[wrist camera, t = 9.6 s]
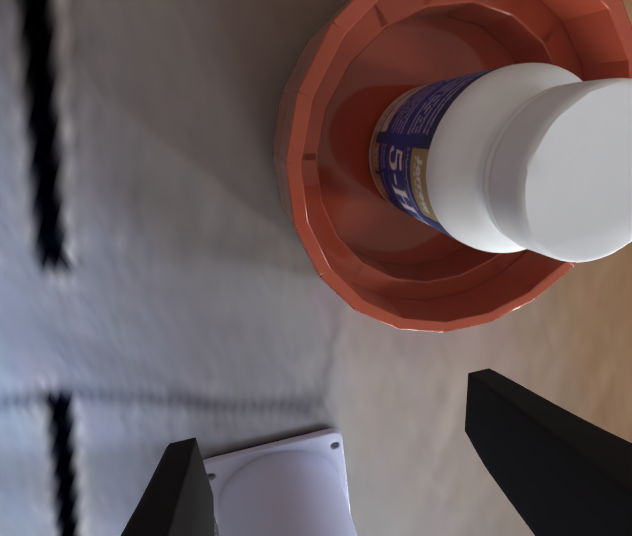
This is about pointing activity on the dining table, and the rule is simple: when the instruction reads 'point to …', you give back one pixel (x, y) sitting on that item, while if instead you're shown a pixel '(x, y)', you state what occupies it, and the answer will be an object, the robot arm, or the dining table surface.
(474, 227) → the pill bottle
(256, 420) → the dining table surface
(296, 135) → the bowl
